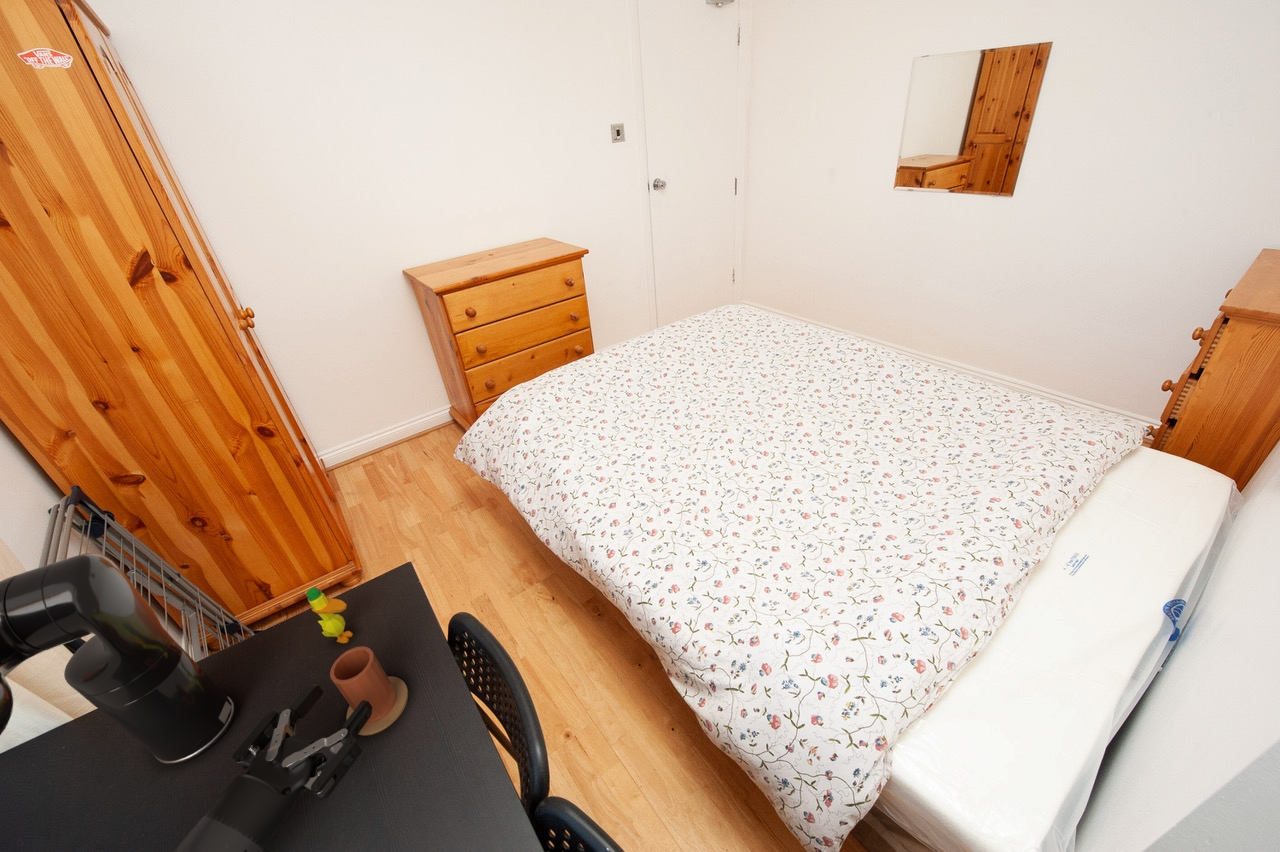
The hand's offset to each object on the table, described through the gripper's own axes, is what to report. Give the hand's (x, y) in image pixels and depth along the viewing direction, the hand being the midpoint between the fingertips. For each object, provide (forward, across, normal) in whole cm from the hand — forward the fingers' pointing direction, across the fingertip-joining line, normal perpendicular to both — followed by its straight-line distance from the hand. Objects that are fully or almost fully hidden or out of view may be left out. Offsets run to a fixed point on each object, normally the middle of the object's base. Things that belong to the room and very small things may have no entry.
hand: (343, 695), depth 67 cm
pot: (+3, 0, +7) cm, 8 cm away
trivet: (+3, 0, +8) cm, 8 cm away
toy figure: (+11, +14, +8) cm, 19 cm away
